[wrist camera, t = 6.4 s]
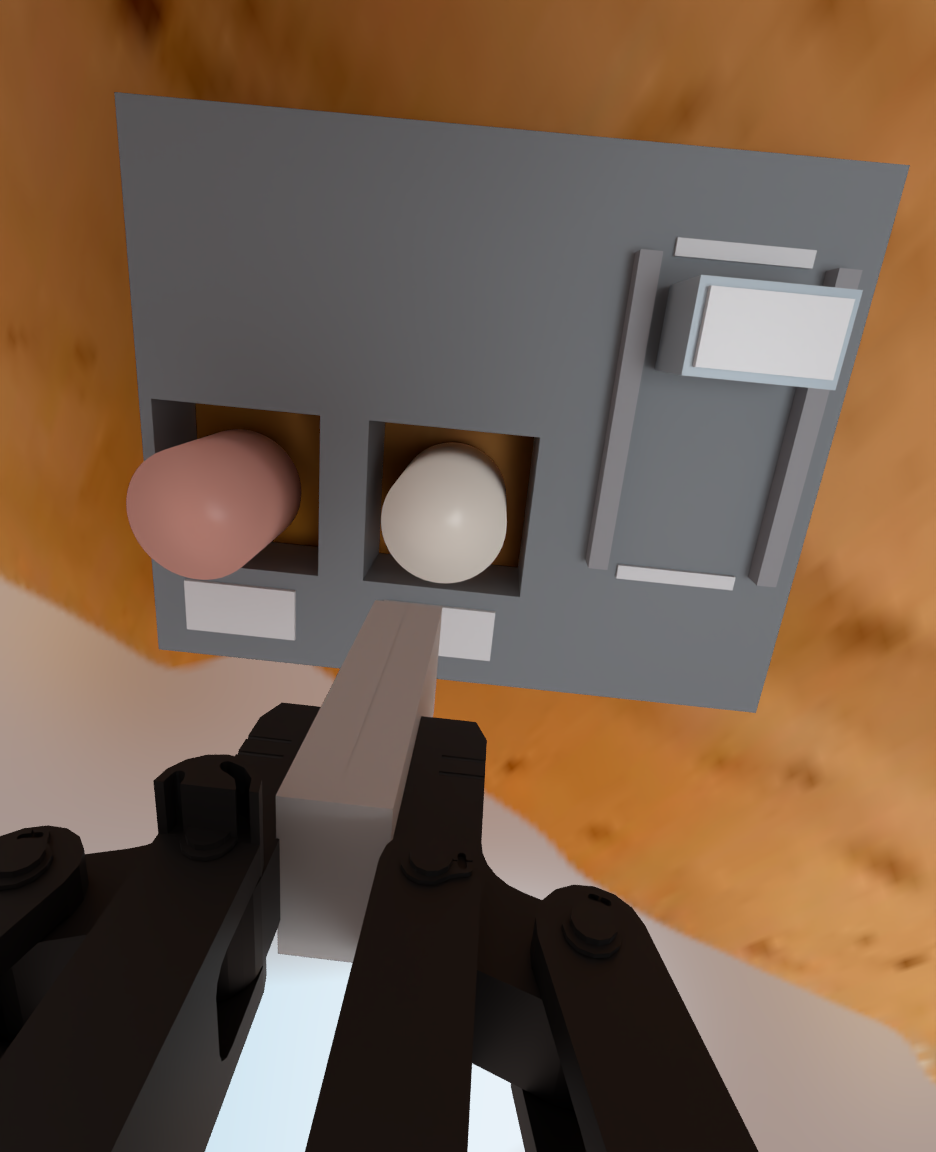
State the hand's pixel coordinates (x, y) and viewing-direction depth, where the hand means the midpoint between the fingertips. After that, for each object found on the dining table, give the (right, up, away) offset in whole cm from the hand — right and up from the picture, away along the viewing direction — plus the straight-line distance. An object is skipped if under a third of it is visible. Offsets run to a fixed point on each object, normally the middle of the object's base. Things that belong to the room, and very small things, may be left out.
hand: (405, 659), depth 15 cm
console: (+2, +9, +16) cm, 18 cm away
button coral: (-8, +6, +14) cm, 17 cm away
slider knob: (+11, +11, +10) cm, 18 cm away
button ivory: (+1, +6, +16) cm, 17 cm away
